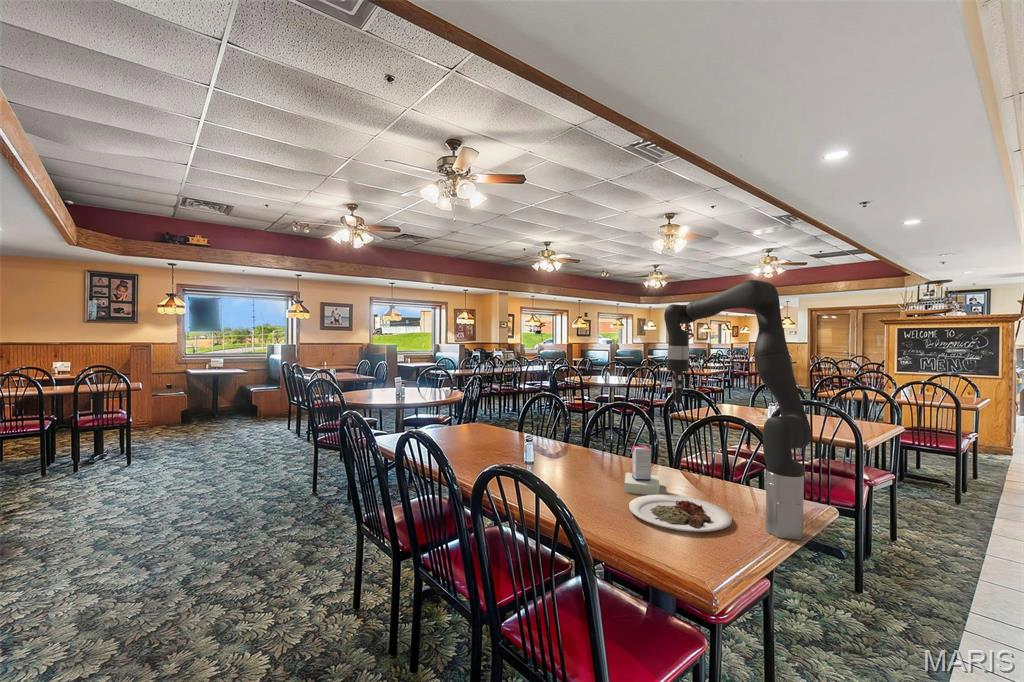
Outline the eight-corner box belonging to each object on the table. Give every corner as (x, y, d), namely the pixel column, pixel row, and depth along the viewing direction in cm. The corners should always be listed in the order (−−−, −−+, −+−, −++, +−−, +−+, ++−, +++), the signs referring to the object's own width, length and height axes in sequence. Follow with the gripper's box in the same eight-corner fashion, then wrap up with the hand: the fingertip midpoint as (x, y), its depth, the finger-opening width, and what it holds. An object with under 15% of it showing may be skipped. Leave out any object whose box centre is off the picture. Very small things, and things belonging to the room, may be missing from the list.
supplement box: (651, 480, 166) (651, 449, 167) (635, 480, 166) (635, 448, 167) (647, 476, 172) (647, 446, 172) (631, 476, 172) (631, 445, 173)
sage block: (659, 497, 161) (659, 486, 161) (624, 493, 164) (624, 482, 164) (658, 485, 174) (658, 475, 174) (625, 482, 178) (625, 472, 178)
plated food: (622, 526, 134) (622, 514, 134) (634, 495, 162) (634, 485, 162) (736, 544, 123) (736, 532, 123) (728, 507, 151) (728, 497, 151)
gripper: (691, 359, 162) (690, 404, 162) (686, 358, 176) (685, 400, 176) (669, 358, 164) (668, 403, 164) (665, 357, 178) (665, 399, 178)
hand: (677, 401), depth 170 cm, fingers open, 8 cm apart
